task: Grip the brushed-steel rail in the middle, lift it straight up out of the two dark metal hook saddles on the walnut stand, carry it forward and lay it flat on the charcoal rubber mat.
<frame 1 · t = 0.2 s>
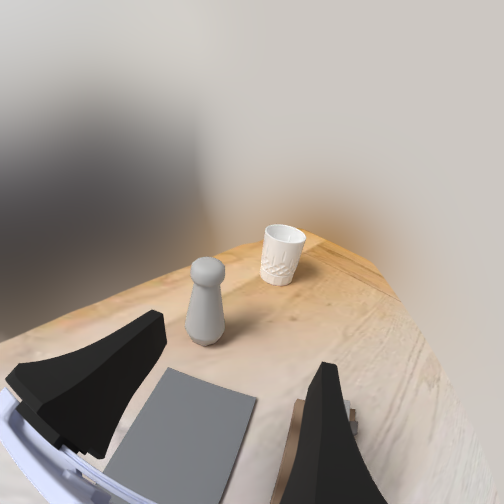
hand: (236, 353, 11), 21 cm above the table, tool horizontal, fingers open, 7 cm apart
white cup: (275, 277, 56), on the table
salt shaker: (204, 336, 39), on the table
rack: (308, 498, 19), on the table
mat: (173, 462, 21), on the table
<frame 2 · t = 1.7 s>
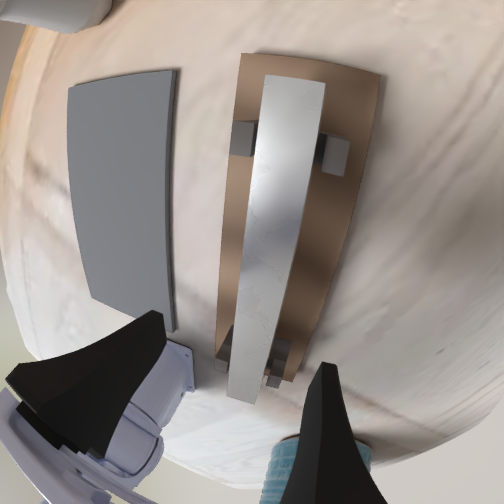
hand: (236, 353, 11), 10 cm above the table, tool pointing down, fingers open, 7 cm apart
salt shaker: (99, 9, 13), on the table
rack: (279, 252, 19), on the table
mat: (115, 212, 22), on the table
rail: (268, 278, 16), point 3 cm above the table, touching rack
vase: (323, 449, 33), on the table
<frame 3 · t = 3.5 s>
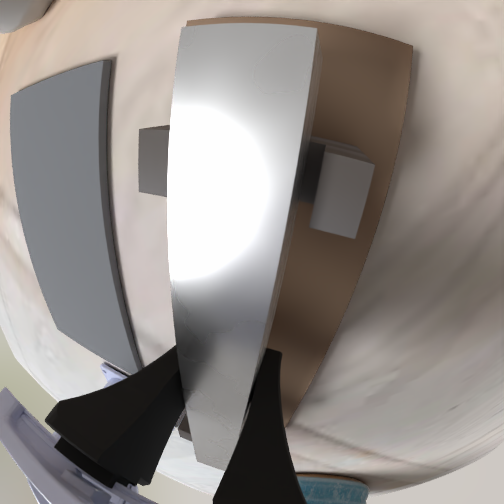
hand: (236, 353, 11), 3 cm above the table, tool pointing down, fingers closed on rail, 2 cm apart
salt shaker: (45, 0, 7), on the table
rack: (255, 310, 14), on the table
mat: (62, 243, 16), on the table
rail: (233, 360, 11), point 3 cm above the table, touching gripper, rack
vase: (316, 483, 28), on the table
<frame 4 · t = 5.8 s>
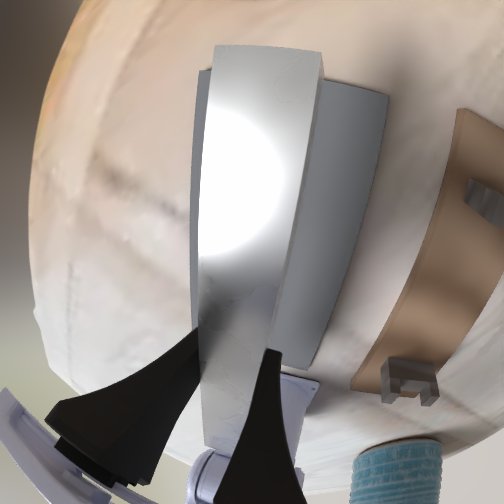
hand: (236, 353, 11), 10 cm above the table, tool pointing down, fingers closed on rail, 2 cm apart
rack: (447, 290, 17), on the table
mat: (267, 245, 20), on the table
rail: (244, 337, 12), point 9 cm above the table, touching gripper
vase: (398, 452, 31), on the table
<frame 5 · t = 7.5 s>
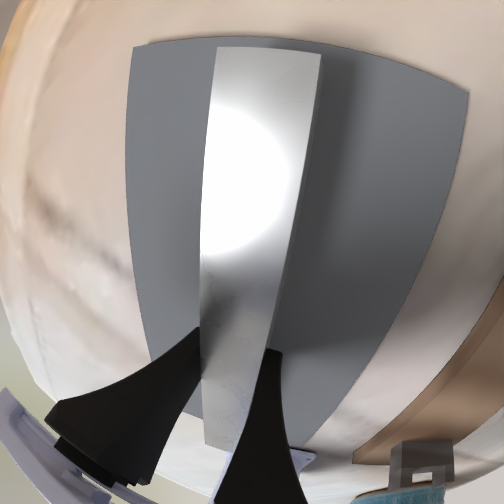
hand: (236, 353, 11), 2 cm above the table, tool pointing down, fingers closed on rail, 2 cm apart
rack: (487, 370, 10), on the table
mat: (249, 326, 13), on the table
rail: (245, 334, 12), point 1 cm above the table, touching gripper, mat
vase: (398, 492, 24), on the table
when the fingers open (2 cm above the table, at t = 8.2 s): rail stays where it is, resting on mat.
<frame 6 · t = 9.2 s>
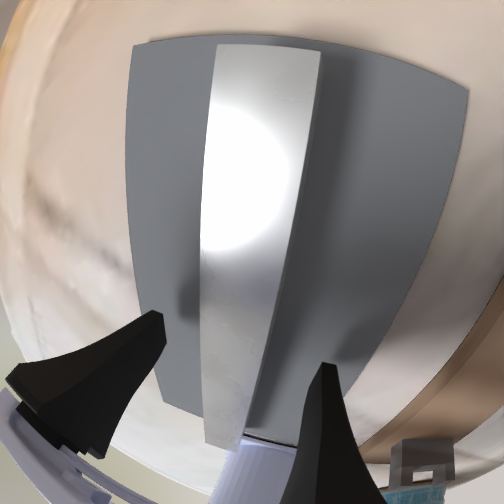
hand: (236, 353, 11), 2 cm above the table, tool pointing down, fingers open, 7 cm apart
rack: (488, 369, 10), on the table
mat: (249, 324, 13), on the table
rail: (245, 332, 12), point 1 cm above the table, touching mat
vase: (399, 491, 24), on the table
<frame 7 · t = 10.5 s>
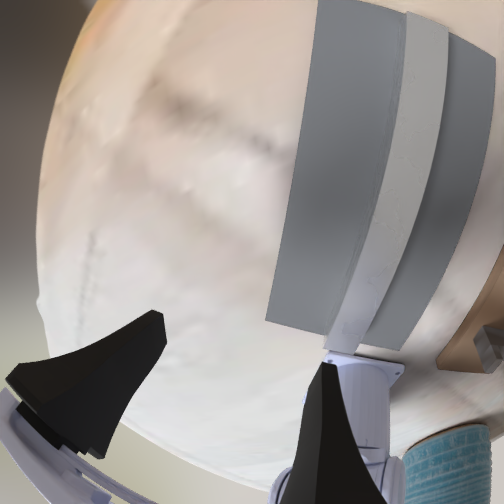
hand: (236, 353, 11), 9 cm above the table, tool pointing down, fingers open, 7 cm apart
mat: (387, 193, 15), on the table
rail: (389, 196, 14), point 1 cm above the table, touching mat
vase: (446, 442, 26), on the table
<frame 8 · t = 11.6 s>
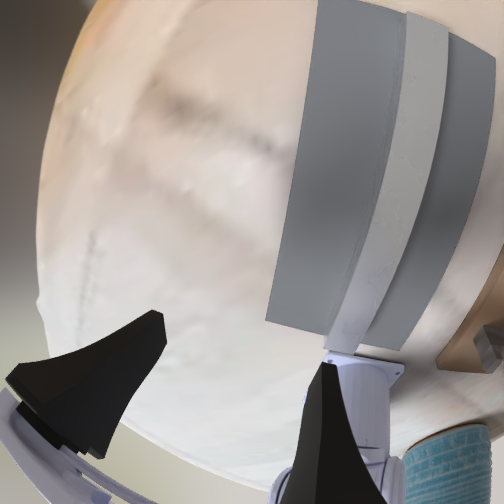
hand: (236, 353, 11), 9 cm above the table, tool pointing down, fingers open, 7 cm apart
mat: (387, 193, 15), on the table
rail: (389, 196, 14), point 1 cm above the table, touching mat
vase: (446, 442, 26), on the table
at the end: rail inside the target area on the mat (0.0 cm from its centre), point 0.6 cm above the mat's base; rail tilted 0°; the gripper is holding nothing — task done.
